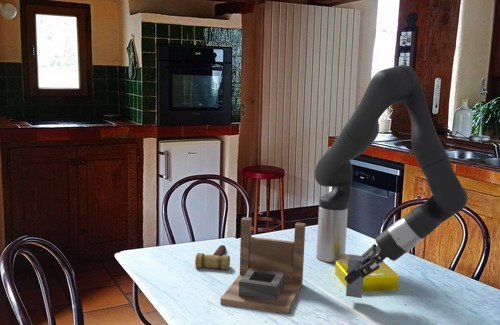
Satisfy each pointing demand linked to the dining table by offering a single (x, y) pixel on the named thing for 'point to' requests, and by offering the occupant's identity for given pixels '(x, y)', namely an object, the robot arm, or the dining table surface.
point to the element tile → (372, 277)
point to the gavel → (213, 259)
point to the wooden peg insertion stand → (267, 271)
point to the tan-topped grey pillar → (353, 262)
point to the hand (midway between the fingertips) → (347, 277)
